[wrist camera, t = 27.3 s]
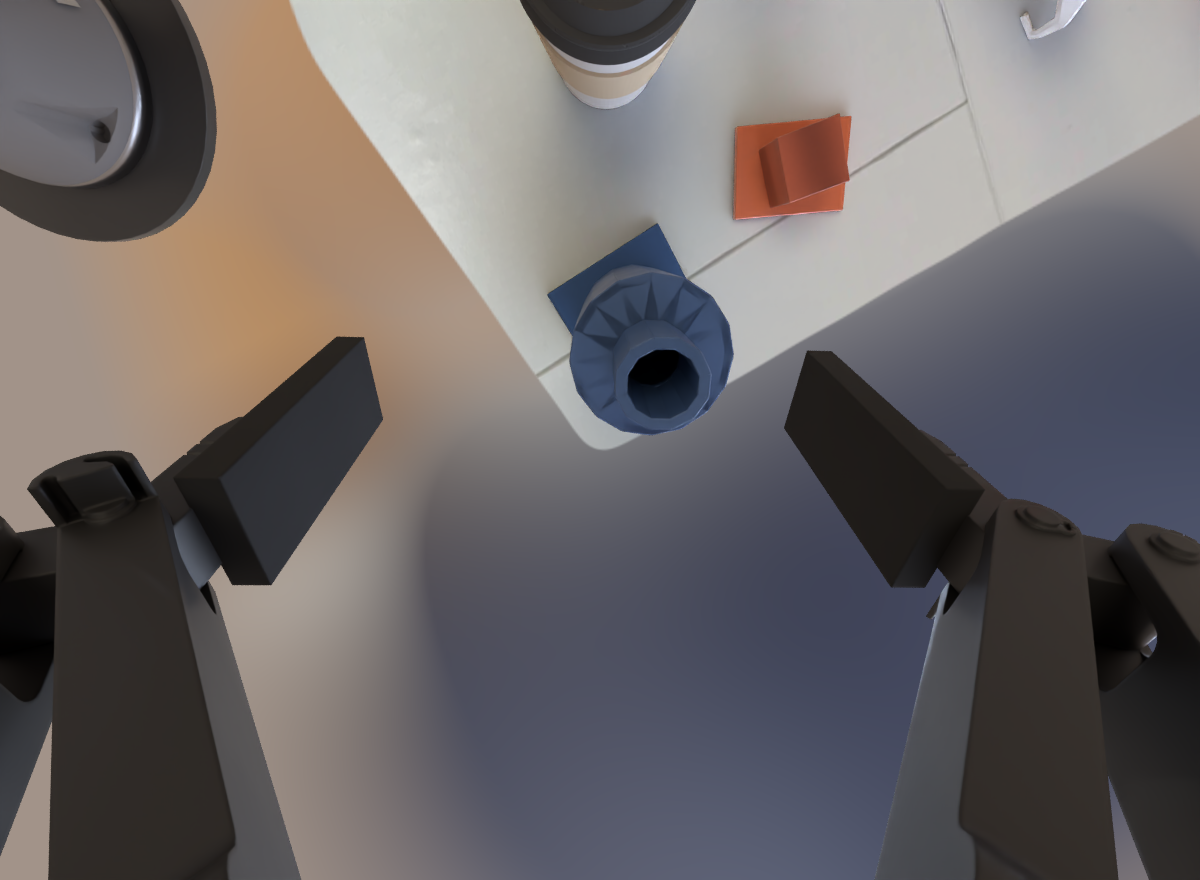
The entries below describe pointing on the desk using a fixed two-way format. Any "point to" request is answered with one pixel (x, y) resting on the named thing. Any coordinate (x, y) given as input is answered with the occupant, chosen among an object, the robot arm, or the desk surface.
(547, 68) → the desk surface
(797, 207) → the orange flat plate
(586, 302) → the blue bottle
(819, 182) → the terracotta block
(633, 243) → the blue mat
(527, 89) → the desk surface
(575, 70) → the coffee cup
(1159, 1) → the desk surface
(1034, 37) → the cat figurine
